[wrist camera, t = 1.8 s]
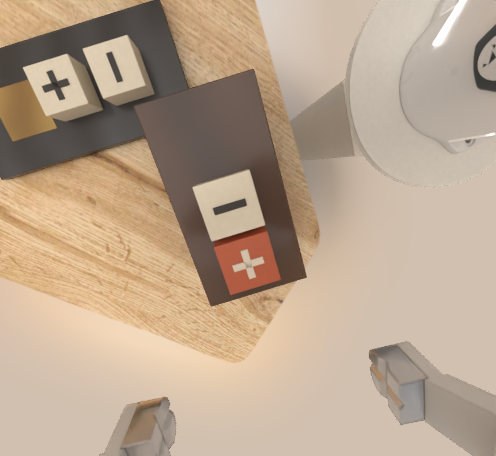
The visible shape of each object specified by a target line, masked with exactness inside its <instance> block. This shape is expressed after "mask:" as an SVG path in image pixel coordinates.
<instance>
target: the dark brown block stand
mask: <svg viewBox="0 0 496 456" xmlns="http://www.w3.org/2000/svg"><path fill="white" fill-rule="evenodd" d="M134 108H135V111H136V114H137V116H138V119H139V121H140V124H141V126H142V129H143V132H144V134H145V137H146V139H147V142H148V145H149V147H150V150H151V152H152V155H153V158H154V160H155V163H156V165H157V168H158V171H159V173H160V176H161V178H162V181H163V183H164V186H165V189H166V191H167V194H168V196H169V199H170V202H171V204H172V207H173V209H174V212H175V215H176V217H177V220H178V222H179V225H180V228H181V230H182V233H183V235H184V238H185V240H186V243H187V246H188V248H189V251H190V253H191V256H192V259H193V261H194V264H195V266H196V269H197V272H198V274H199V277H200V279H201V282H202V285H203V287H204V290H205V292H206V295H207V297H208V300H209V303H210V305H211V306H215V305H218V304H222V303H225V302H228V301H231V300H235V299H238V298H241V297H244V296H248V295H251V294H254V293H258V292H261V291H264V290H267V289H271V288H274V287H277V286H280V285H284V284H287V283H290V282H294V281H297V280H300V279H303V278H306V277H307V276H306V272H305V268H304V264H303V260H302V256H301V252H300V248H299V244H298V240H297V236H296V233H295V229H294V225H293V221H292V217H291V213H290V209H289V205H288V201H287V197H286V193H285V189H284V185H283V181H282V177H281V173H280V170H279V166H278V162H277V158H276V154H275V150H274V146H273V142H272V138H271V134H270V130H269V126H268V122H267V118H266V114H265V110H264V107H263V103H262V99H261V95H260V91H259V87H258V83H257V79H256V75H255V71H254V69H251V70H248V71H245V72H242V73H238V74H235V75H232V76H229V77H225V78H222V79H219V80H216V81H213V82H209V83H206V84H203V85H200V86H196V87H193V88H190V89H187V90H183V91H180V92H177V93H174V94H171V95H167V96H164V97H161V98H158V99H154V100H151V101H148V102H145V103H141V104H138V105H135V106H134ZM246 169H248V170H250V173H251V176H252V180H253V183H254V187H255V190H256V194H257V197H258V201H259V204H260V208H261V211H262V215H263V218H264V222H265V225H264V227H265V228H266V230H267V232H268V236H269V239H270V243H271V246H272V250H273V253H274V257H275V260H276V264H277V267H278V271H279V274H280V278H281V280H278V281H275V282H272V283H269V284H265V285H262V286H259V287H256V288H252V289H249V290H246V291H242V292H239V293H236V294H233V295H230V292H229V289H228V286H227V284H226V281H225V278H224V275H223V272H222V270H221V267H220V264H219V261H218V258H217V256H216V253H215V250H214V244H215V241H211V239H210V236H209V233H208V230H207V227H206V225H205V222H204V219H203V216H202V213H201V211H200V208H199V205H198V202H197V199H196V197H195V194H194V191H193V188H192V187H194V186H196V185H197V184H200V183H204V182H207V181H210V180H213V179H217V178H220V177H223V176H226V175H230V174H233V173H236V172H239V171H243V170H246Z"/></svg>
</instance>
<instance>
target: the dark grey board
mask: <svg viewBox="0 0 496 456" xmlns="http://www.w3.org/2000/svg"><path fill="white" fill-rule="evenodd" d="M125 35H128V36H129V38H130V39H131V40H132V42H133V43H134V44H135V45H136V47H137V48H138V49H139V51H140V54H141V57H142V60H143V63H144V65H145V68H146V71H147V74H148V76H149V79H150V82H151V85H152V88H153V90H154V93H155V94H154V95H150V96H147V97H144V98H141V99H138V100H134V101H131V102H128V103H125V104H121V105H118V106H116V105H114V104H112V103H110V102H108V101H107V100H105V99H103V97H102V95H101V92H100V90H99V88H98V85H97V83H96V80H95V78H94V75H93V73H92V71H91V68H90V66H89V63H88V61H87V59H86V56H85V54H84V51H83V48H86V47H90V46H93V45H96V44H99V43H103V42H106V41H109V40H112V39H115V38H119V37H122V36H125ZM65 54H68V55H70V56H71V57H73V58H74V59H75V60H77V61H78V62H80V63H81V64H83V65H84V66H85V67H86V69H87V72H88V74H89V76H90V79H91V81H92V84H93V86H94V88H95V91H96V93H97V96H98V98H99V100H100V103H101V105H102V107H103V110H102V111H98V112H95V113H92V114H89V115H85V116H82V117H79V118H76V119H73V120H69V121H66V122H65V121H62V120H58V119H54V118H51V117H47V116H46V115H45V113H44V111H43V109H42V107H41V105H40V103H39V100H38V98H37V96H36V94H35V92H34V90H33V88H32V86H31V84H30V82H29V80H28V78H27V75H26V73H25V71H24V69H23V67H26V66H29V65H32V64H36V63H39V62H42V61H45V60H48V59H52V58H55V57H58V56H61V55H65ZM187 89H189V87H188V84H187V81H186V78H185V75H184V72H183V69H182V66H181V63H180V60H179V57H178V53H177V50H176V47H175V44H174V41H173V38H172V35H171V32H170V29H169V26H168V23H167V20H166V16H165V13H164V10H163V7H162V4H161V2H160V0H153V1H150V2H146V3H143V4H140V5H137V6H134V7H130V8H127V9H124V10H121V11H118V12H114V13H111V14H108V15H105V16H101V17H98V18H95V19H92V20H89V21H85V22H82V23H79V24H76V25H73V26H69V27H66V28H63V29H60V30H57V31H53V32H50V33H47V34H44V35H40V36H37V37H34V38H31V39H28V40H24V41H21V42H18V43H15V44H12V45H8V46H5V47H2V48H0V178H1V179H2V180H8V179H12V178H15V177H19V176H22V175H25V174H28V173H32V172H35V171H38V170H41V169H45V168H48V167H51V166H54V165H57V164H61V163H64V162H67V161H70V160H74V159H77V158H80V157H83V156H87V155H90V154H93V153H96V152H100V151H103V150H106V149H109V148H113V147H116V146H119V145H122V144H126V143H129V142H132V141H135V140H138V139H142V138H145V134H144V132H143V129H142V126H141V124H140V121H139V119H138V116H137V114H136V111H135V108H134V106H135V105H138V104H141V103H145V102H148V101H151V100H154V99H158V98H161V97H164V96H167V95H171V94H174V93H177V92H180V91H183V90H187Z"/></svg>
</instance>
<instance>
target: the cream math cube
mask: <svg viewBox="0 0 496 456" xmlns="http://www.w3.org/2000/svg"><path fill="white" fill-rule="evenodd" d="M23 69H24V71H25V73H26V75H27V78H28V80H29V82H30V84H31V86H32V88H33V90H34V92H35V94H36V96H37V98H38V100H39V103H40V105H41V107H42V109H43V111H44V113H45V115H46V116H47V117H51V118H54V119H58V120H62V121H65V122H66V121H69V120H73V119H76V118H79V117H82V116H85V115H89V114H92V113H95V112H98V111H102V110H103V107H102V105H101V103H100V100H99V98H98V96H97V93H96V91H95V88H94V86H93V84H92V81H91V79H90V76H89V74H88V72H87V69H86V67H85V66H84V65H83V64H81V63H80V62H78V61H77V60H75V59H74V58H73V57H71V56H70V55H68V54H65V55H61V56H58V57H55V58H52V59H48V60H45V61H42V62H39V63H36V64H32V65H29V66H26V67H23Z"/></svg>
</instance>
